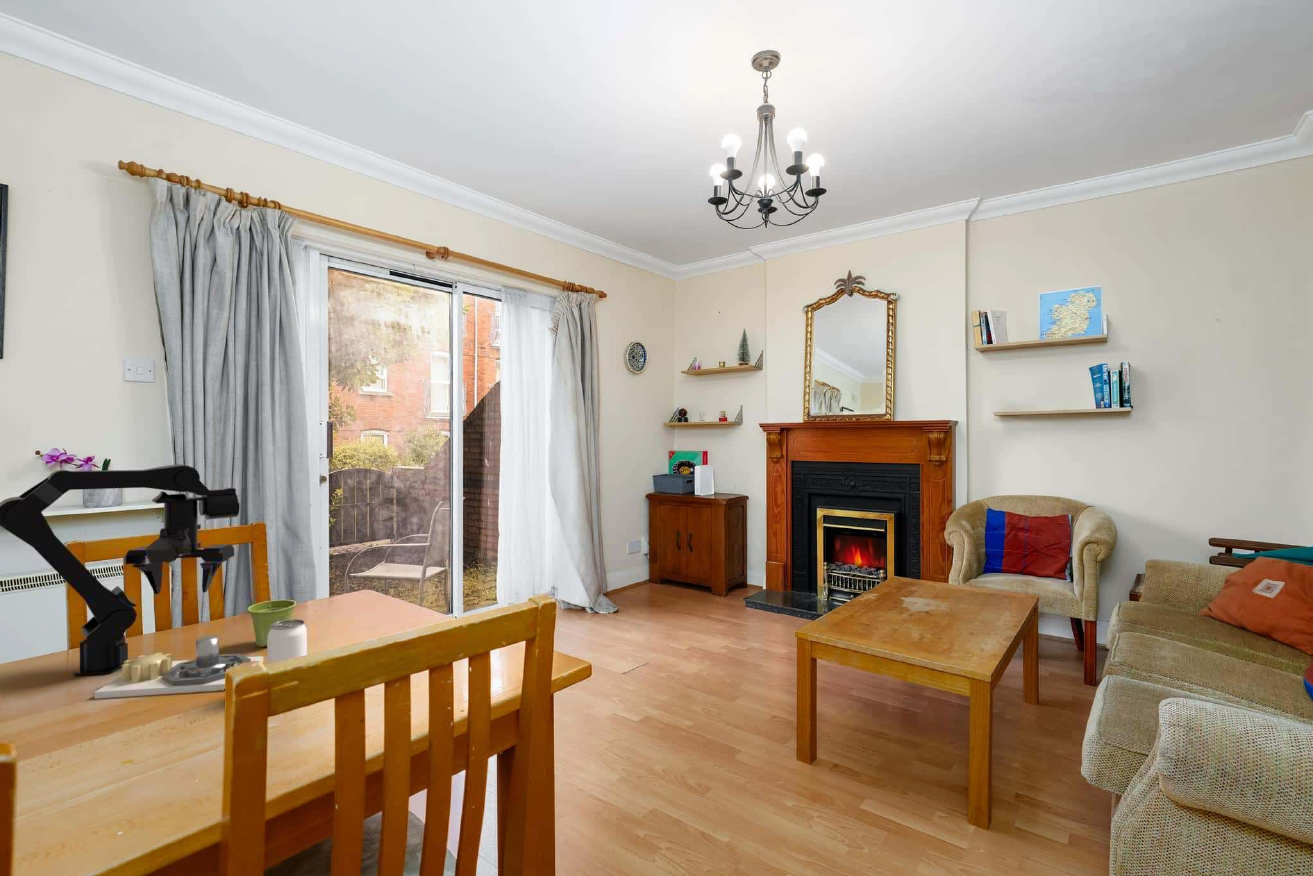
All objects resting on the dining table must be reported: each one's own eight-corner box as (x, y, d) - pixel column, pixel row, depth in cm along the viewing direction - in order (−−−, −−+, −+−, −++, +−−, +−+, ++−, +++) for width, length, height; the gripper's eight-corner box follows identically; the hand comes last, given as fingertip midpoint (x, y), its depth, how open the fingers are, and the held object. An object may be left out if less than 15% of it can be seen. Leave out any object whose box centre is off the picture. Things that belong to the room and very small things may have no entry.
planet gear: (168, 682, 114) (167, 648, 114) (194, 664, 123) (194, 632, 123) (221, 679, 116) (221, 645, 116) (243, 661, 125) (243, 630, 125)
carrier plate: (94, 698, 110) (94, 675, 110) (144, 668, 124) (144, 648, 124) (229, 690, 114) (229, 667, 114) (263, 661, 128) (263, 642, 128)
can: (288, 695, 112) (288, 630, 112) (258, 691, 113) (258, 628, 113) (314, 681, 118) (314, 619, 118) (286, 678, 120) (286, 617, 120)
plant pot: (304, 641, 141) (304, 603, 140) (260, 653, 133) (260, 614, 132) (283, 633, 146) (283, 597, 145) (239, 645, 138) (239, 607, 138)
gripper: (105, 529, 123) (106, 605, 123) (208, 526, 126) (209, 601, 127) (141, 520, 134) (142, 591, 134) (235, 519, 137) (235, 587, 138)
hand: (181, 593), depth 133 cm, fingers open, 9 cm apart
